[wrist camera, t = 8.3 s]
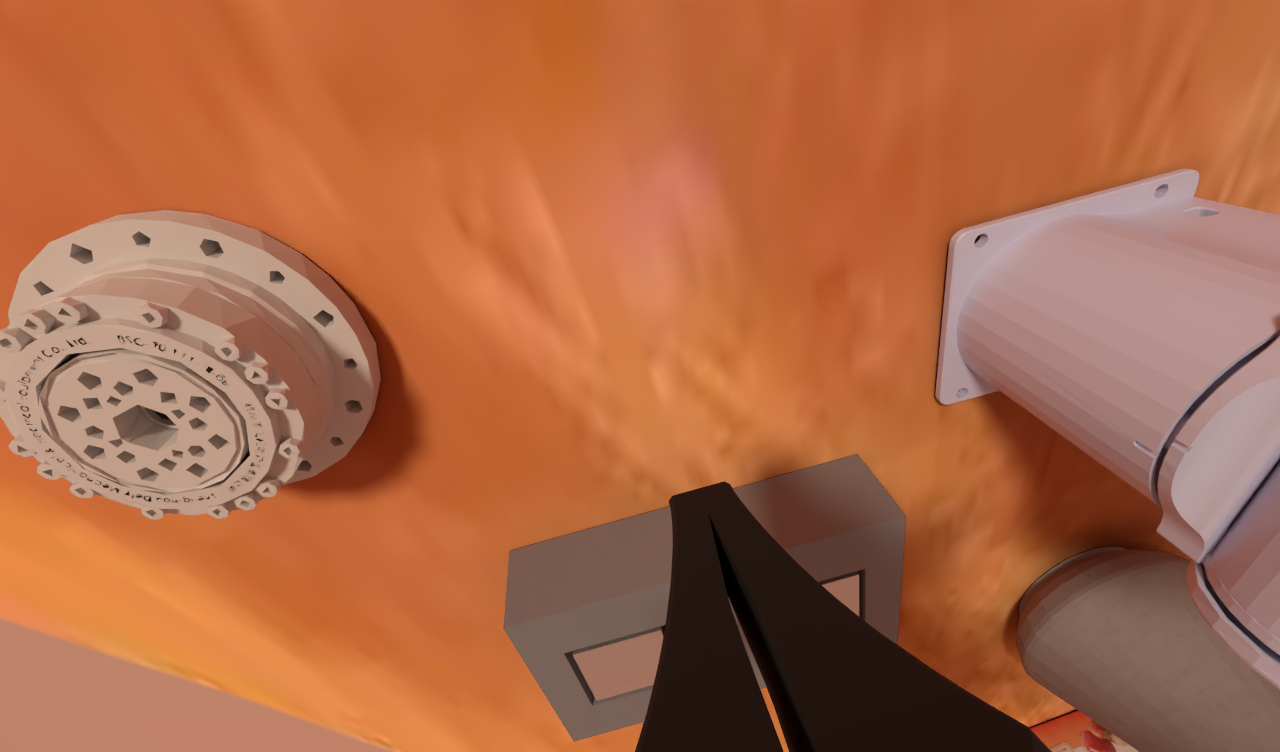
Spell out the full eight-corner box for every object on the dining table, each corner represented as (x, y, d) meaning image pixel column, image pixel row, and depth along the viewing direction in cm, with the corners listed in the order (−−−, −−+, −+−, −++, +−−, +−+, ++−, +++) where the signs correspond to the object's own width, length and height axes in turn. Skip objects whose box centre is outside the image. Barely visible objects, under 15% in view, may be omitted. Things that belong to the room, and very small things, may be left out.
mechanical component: (220, 500, 21) (438, 403, 21) (150, 594, 18) (413, 479, 17) (-37, 291, 16) (241, 150, 15) (-213, 360, 12) (142, 179, 12)
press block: (857, 454, 25) (905, 515, 22) (857, 584, 30) (897, 650, 27) (509, 550, 25) (503, 628, 21) (571, 664, 30) (574, 741, 27)
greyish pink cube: (647, 561, 26) (661, 630, 23) (663, 609, 28) (677, 678, 25) (569, 583, 26) (572, 655, 23) (591, 629, 28) (596, 701, 25)
